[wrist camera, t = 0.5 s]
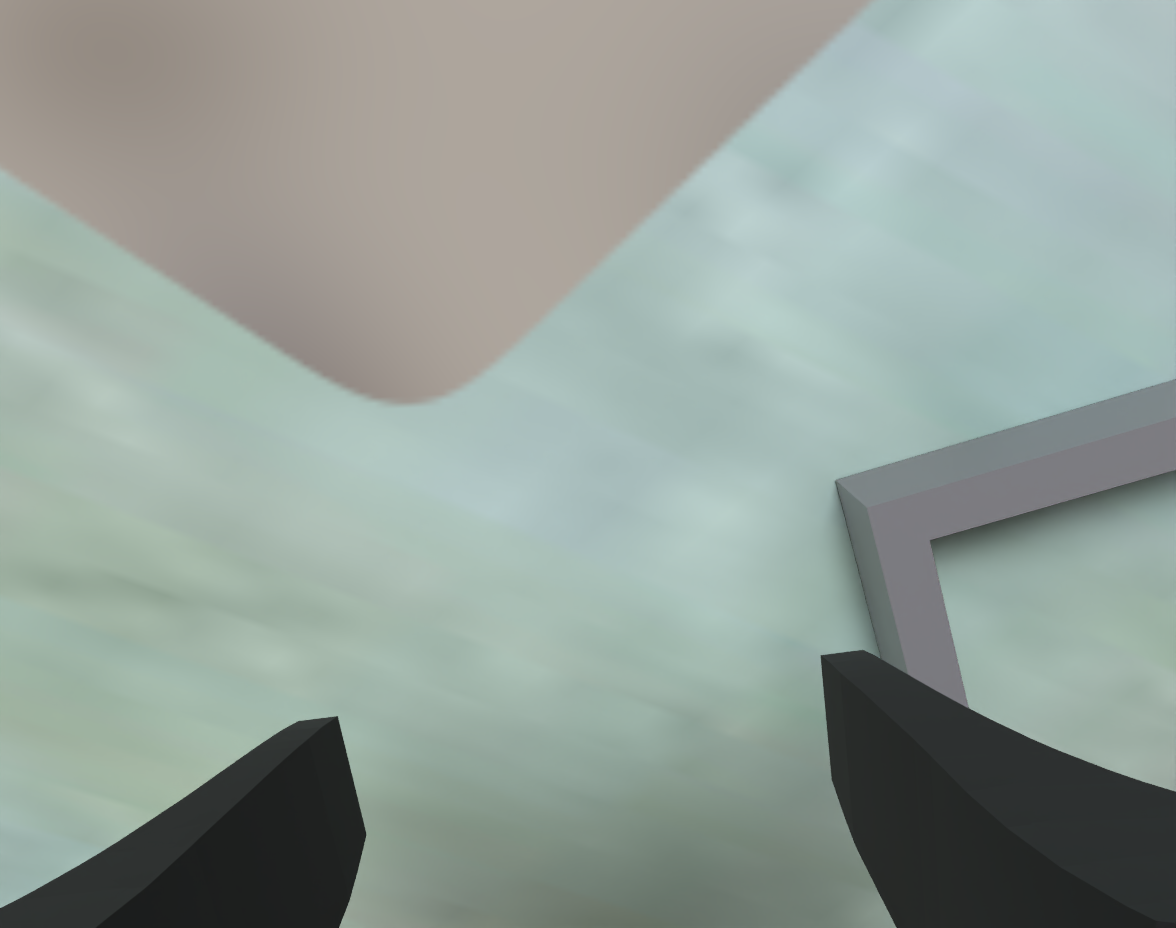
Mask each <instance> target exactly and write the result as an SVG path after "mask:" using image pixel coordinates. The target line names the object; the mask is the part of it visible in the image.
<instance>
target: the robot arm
mask: <svg viewBox="0 0 1176 928" xmlns="http://www.w3.org/2000/svg"><path fill="white" fill-rule="evenodd" d="M821 665H822V676H823V687H824V698H825V709H826V720H827V732H828V743H829V754H830V765H831V776H832V782H833V784H834V787H835V790H836V793H837V796H838V799H839V802H840V805H841V808H842V810H843V813H844V816H845V819H846V822H847V824H848V827H849V830H850V833H851V835H852V838H853V841H854V843H855V845H856V847H857V849H858V852H859V854H860V856H861V858H862V860H863V862H864V864H865V866H866V868H867V870H868V872H869V874H870V876H871V878H872V880H873V882H874V884H875V886H876V888H877V890H878V892H879V894H880V896H881V898H882V900H883V902H884V904H885V906H886V908H887V910H888V912H889V914H890V916H891V918H892V919H893V921H894V923H895V925H896V927H897V928H1176V792H1175V791H1171V790H1168V789H1165V788H1162V787H1158V786H1155V785H1152V784H1148V783H1145V782H1142V781H1139V780H1136V779H1133V778H1130V777H1127V776H1124V775H1121V774H1119V773H1116V772H1113V771H1110V770H1107V769H1105V768H1102V767H1100V766H1097V765H1094V764H1092V763H1089V762H1087V761H1084V760H1081V759H1079V758H1076V757H1074V756H1071V755H1069V754H1066V753H1063V752H1061V751H1058V750H1056V749H1053V748H1051V747H1049V746H1046V745H1044V744H1042V743H1039V742H1037V741H1035V740H1033V739H1030V738H1028V737H1026V736H1024V735H1022V734H1020V733H1018V732H1016V731H1014V730H1011V729H1009V728H1007V727H1005V726H1003V725H1001V724H999V723H997V722H995V721H993V720H990V719H989V718H987V717H985V716H983V715H981V714H979V713H977V712H975V711H973V710H971V709H969V708H967V707H965V706H963V705H962V704H960V703H958V702H956V701H954V700H952V699H950V698H949V697H947V696H945V695H943V694H941V693H939V692H938V691H936V690H934V689H932V688H931V687H929V686H927V685H925V684H924V683H922V682H920V681H918V680H917V679H915V678H913V677H911V676H910V675H908V674H906V673H904V672H903V671H901V670H899V669H898V668H896V667H894V666H892V665H891V664H889V663H887V662H885V661H884V660H882V659H880V658H878V657H876V656H874V655H872V654H870V653H868V652H866V651H864V650H860V651H852V652H844V653H836V654H828V655H821ZM365 838H366V831H365V827H364V823H363V818H362V814H361V810H360V806H359V802H358V798H357V794H356V790H355V786H354V782H353V777H352V773H351V769H350V765H349V761H348V757H347V753H346V749H345V745H344V740H343V736H342V732H341V728H340V724H339V720H338V716H336V717H328V718H320V719H312V720H305V721H298V722H296V723H294V724H292V725H290V726H289V727H287V728H285V729H283V730H282V731H280V732H278V733H277V734H275V735H274V736H272V737H271V738H269V739H268V740H266V741H265V742H263V743H262V744H260V745H259V746H257V747H256V748H254V749H253V750H252V751H250V752H249V753H247V754H246V755H244V756H243V757H242V758H240V759H239V760H237V761H236V762H235V763H233V764H232V765H230V766H229V767H227V768H226V769H225V770H223V771H222V772H220V773H219V774H217V775H216V776H215V777H213V778H212V779H210V780H209V781H208V782H206V783H205V784H203V785H202V786H200V787H199V788H198V789H196V790H195V791H193V792H192V793H190V794H189V795H188V796H186V797H185V798H183V799H182V800H180V801H179V802H177V803H176V804H174V805H173V806H171V807H170V808H168V809H167V810H165V811H164V812H162V813H161V814H159V815H158V816H156V817H155V818H153V819H152V820H150V821H149V822H147V823H146V824H144V825H143V826H141V827H139V828H138V829H136V830H135V831H133V832H132V833H130V834H129V835H127V836H126V837H124V838H123V839H121V840H120V841H118V842H117V843H115V844H114V845H112V846H110V847H109V848H107V849H105V850H104V851H102V852H101V853H99V854H97V855H96V856H94V857H92V858H91V859H89V860H87V861H86V862H84V863H82V864H81V865H79V866H77V867H75V868H74V869H72V870H70V871H68V872H67V873H65V874H63V875H61V876H59V877H58V878H56V879H54V880H52V881H51V882H49V883H47V884H45V885H44V886H42V887H40V888H38V889H36V890H35V891H33V892H31V893H29V894H27V895H25V896H23V897H22V898H20V899H18V900H16V901H14V902H12V903H10V904H8V905H6V906H4V907H2V908H0V928H339V926H340V924H341V921H342V919H343V916H344V913H345V911H346V908H347V906H348V903H349V900H350V897H351V893H352V889H353V886H354V882H355V879H356V875H357V871H358V867H359V863H360V859H361V855H362V851H363V847H364V842H365Z"/></svg>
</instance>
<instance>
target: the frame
mask: <svg viewBox="0 0 1176 928" xmlns="http://www.w3.org/2000/svg"><path fill="white" fill-rule="evenodd" d="M1173 470H1176V379H1175V380H1172V381H1168V382H1165V383H1162V384H1158V385H1155V386H1152V387H1148V388H1145V389H1141V390H1138V391H1135V392H1131V393H1128V394H1125V395H1121V396H1118V397H1114V398H1111V399H1108V400H1104V401H1101V402H1098V403H1094V404H1091V405H1087V406H1084V407H1081V408H1077V409H1074V410H1071V411H1067V412H1064V413H1060V414H1057V415H1054V416H1050V417H1047V418H1044V419H1040V420H1037V421H1033V422H1030V423H1027V424H1023V425H1020V426H1017V427H1013V428H1010V429H1006V430H1003V431H1000V432H996V433H993V434H990V435H986V436H983V437H979V438H976V439H973V440H969V441H966V442H963V443H959V444H956V445H952V446H949V447H946V448H942V449H939V450H936V451H932V452H929V453H925V454H922V455H919V456H915V457H912V458H909V459H905V460H902V461H898V462H895V463H892V464H888V465H885V466H882V467H878V468H875V469H871V470H868V471H865V472H861V473H858V474H855V475H851V476H848V477H844V478H841V479H838V480H836V484H837V488H838V492H839V495H840V499H841V503H842V507H843V511H844V515H845V519H846V523H847V527H848V531H849V535H850V538H851V542H852V546H853V550H854V554H855V558H856V562H857V566H858V570H859V574H860V577H861V581H862V585H863V589H864V593H865V597H866V601H867V605H868V609H869V613H870V617H871V620H872V624H873V628H874V632H875V636H876V640H877V644H878V648H879V652H880V656H881V659H882V660H884V661H885V662H887V663H889V664H891V665H892V666H894V667H896V668H898V669H899V670H901V671H903V672H904V673H906V674H908V675H910V676H911V677H913V678H915V679H917V680H918V681H920V682H922V683H924V684H925V685H927V686H929V687H931V688H932V689H934V690H936V691H938V692H939V693H941V694H943V695H945V696H947V697H949V698H950V699H952V700H954V701H956V702H958V703H960V704H962V705H963V706H965V707H967V708H969V707H968V703H967V699H966V694H965V690H964V686H963V681H962V677H961V673H960V668H959V664H958V660H957V656H956V651H955V647H954V643H953V638H952V634H951V630H950V625H949V621H948V617H947V613H946V608H945V604H944V600H943V595H942V591H941V587H940V582H939V578H938V574H937V569H936V565H935V561H934V557H933V552H932V548H931V544H930V540H932V539H936V538H939V537H943V536H946V535H950V534H953V533H957V532H960V531H964V530H967V529H971V528H974V527H978V526H981V525H985V524H988V523H992V522H995V521H999V520H1002V519H1006V518H1009V517H1013V516H1016V515H1020V514H1023V513H1027V512H1030V511H1034V510H1037V509H1041V508H1044V507H1048V506H1051V505H1055V504H1058V503H1062V502H1065V501H1069V500H1072V499H1076V498H1079V497H1083V496H1086V495H1090V494H1093V493H1097V492H1100V491H1103V490H1107V489H1110V488H1114V487H1117V486H1121V485H1124V484H1128V483H1131V482H1135V481H1138V480H1142V479H1145V478H1149V477H1152V476H1156V475H1159V474H1163V473H1166V472H1170V471H1173Z"/></svg>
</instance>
